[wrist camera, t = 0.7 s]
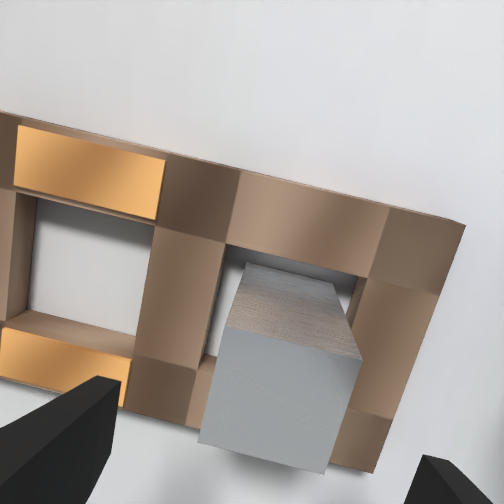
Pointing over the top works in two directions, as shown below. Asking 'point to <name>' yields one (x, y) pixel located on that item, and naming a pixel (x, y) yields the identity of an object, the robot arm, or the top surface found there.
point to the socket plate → (210, 272)
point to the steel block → (282, 371)
